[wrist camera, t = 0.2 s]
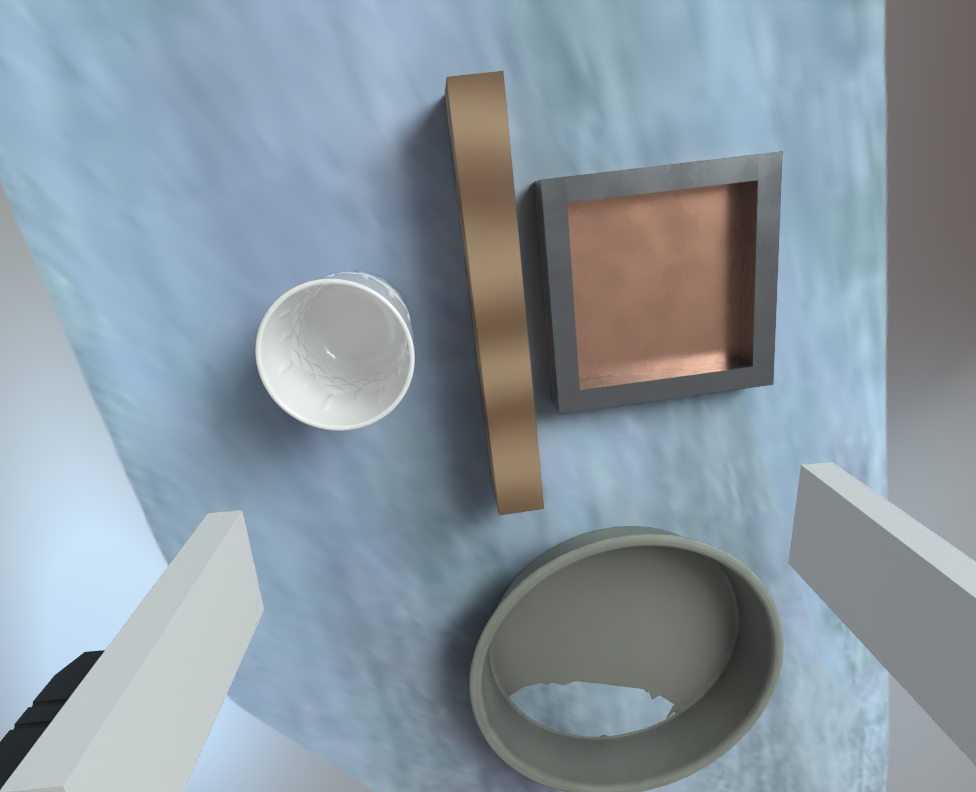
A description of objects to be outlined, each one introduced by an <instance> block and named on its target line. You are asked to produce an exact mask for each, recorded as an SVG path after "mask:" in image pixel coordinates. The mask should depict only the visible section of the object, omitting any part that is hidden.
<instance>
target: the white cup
mask: <svg viewBox="0 0 976 792" xmlns="http://www.w3.org/2000/svg"><path fill="white" fill-rule="evenodd" d="M255 355H256V364H257V368H258V372H259V375H260V378H261V380H262V382H263V384H264V386H265V388H266V390H267V392H268V393H269V395H270V396H271V397H272V399H273V400H274V401H275V402H276V403H277V404H278V405H279V406H280V407H281V408H282V409H283V410H284V411H285V412H287V413H288V414H289V415H291V416H292V417H294V418H295V419H297V420H299V421H301V422H303V423H305V424H308V425H310V426H313V427H316V428H320V429H325V430H334V431H344V430H353V429H358V428H362V427H365V426H368V425H370V424H372V423H375V422H376V421H378V420H380V419H382V418H383V417H385V416H386V415H387V414H389V413H390V412H391V411H392V410H393V409H394V408H395V407H396V406H397V405H398V404H399V402H400V401H401V400H402V398H403V397H404V395H405V393H406V392H407V390H408V387H409V385H410V382H411V379H412V376H413V371H414V360H415V357H414V338H413V330H412V324H411V319H410V315H409V312H408V310H407V308H406V305H405V303H404V301H403V298H402V296H401V294H400V293H399V292H398V291H397V290H396V289H395V288H394V287H392V286H391V285H390V284H389V283H388V282H387V281H386V280H385V279H384V278H381V277H378V276H375V275H372V274H369V273H366V272H363V271H356V272H341V273H336V274H331V275H327V276H323V277H320V278H318V279H315V280H312V281H309V282H306V283H303V284H301V285H298V286H296V287H294V288H292V289H291V290H289V291H287V292H286V293H284V294H283V295H282V296H281V297H279V298H278V299H277V300H276V301H275V302H274V303H273V304H272V306H271V307H270V308H269V310H268V311H267V312H266V314H265V316H264V318H263V320H262V322H261V324H260V327H259V330H258V333H257V338H256V346H255Z"/></svg>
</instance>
